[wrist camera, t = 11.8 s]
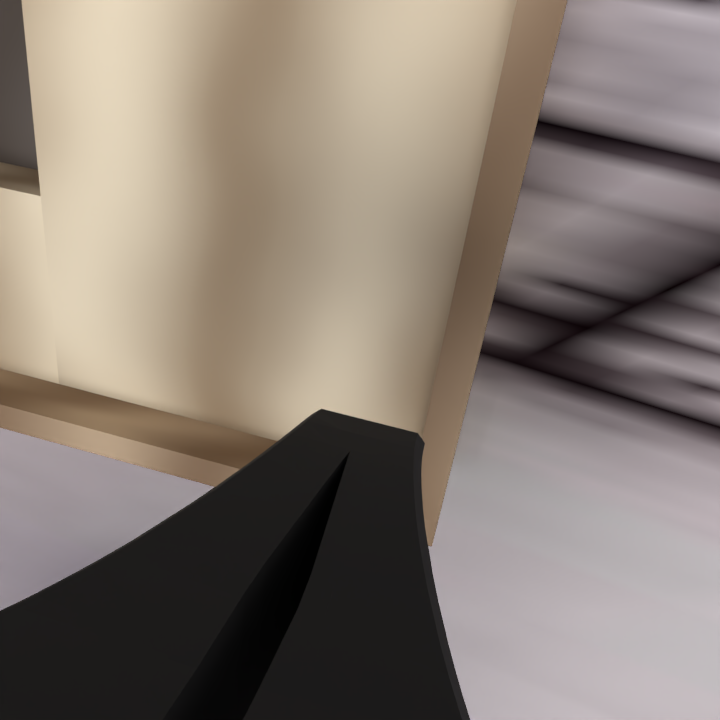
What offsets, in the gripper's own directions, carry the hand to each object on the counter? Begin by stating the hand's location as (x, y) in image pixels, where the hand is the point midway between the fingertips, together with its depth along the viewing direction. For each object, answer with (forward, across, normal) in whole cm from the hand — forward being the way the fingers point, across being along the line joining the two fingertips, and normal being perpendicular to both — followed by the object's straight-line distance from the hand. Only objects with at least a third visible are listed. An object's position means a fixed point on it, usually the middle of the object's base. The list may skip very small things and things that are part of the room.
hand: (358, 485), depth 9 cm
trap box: (+10, +11, 0) cm, 15 cm away
